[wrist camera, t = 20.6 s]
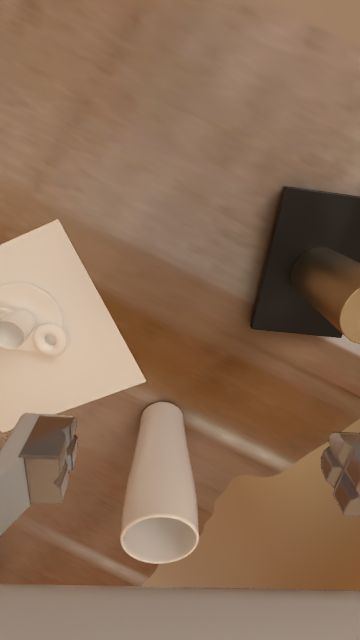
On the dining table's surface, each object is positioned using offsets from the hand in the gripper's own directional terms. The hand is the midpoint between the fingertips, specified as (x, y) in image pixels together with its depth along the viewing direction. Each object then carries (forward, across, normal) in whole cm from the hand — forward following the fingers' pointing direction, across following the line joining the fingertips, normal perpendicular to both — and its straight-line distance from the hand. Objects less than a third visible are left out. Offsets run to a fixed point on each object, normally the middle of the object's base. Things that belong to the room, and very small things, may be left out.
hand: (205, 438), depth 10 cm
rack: (+24, -13, 0) cm, 27 cm away
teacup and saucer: (+24, +16, +11) cm, 31 cm away
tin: (+22, -13, 0) cm, 26 cm away
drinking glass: (+24, 0, +21) cm, 31 cm away
